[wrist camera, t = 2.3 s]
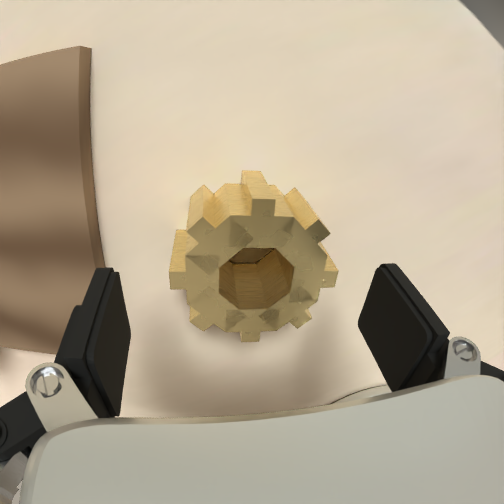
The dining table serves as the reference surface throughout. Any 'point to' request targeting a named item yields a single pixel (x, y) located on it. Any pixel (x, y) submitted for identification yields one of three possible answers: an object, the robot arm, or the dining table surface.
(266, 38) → the dining table surface
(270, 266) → the brass gear
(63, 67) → the gear board
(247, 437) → the robot arm
